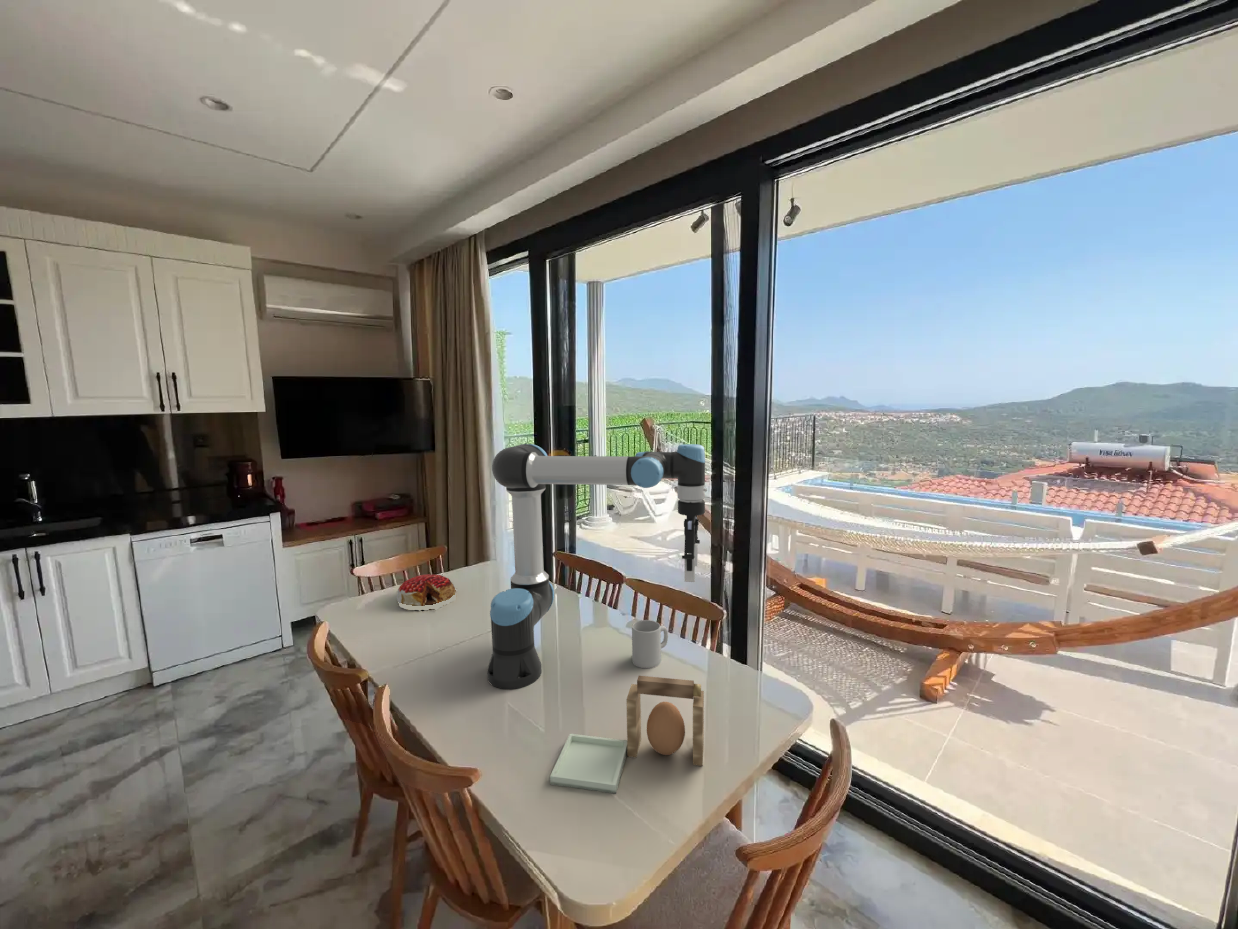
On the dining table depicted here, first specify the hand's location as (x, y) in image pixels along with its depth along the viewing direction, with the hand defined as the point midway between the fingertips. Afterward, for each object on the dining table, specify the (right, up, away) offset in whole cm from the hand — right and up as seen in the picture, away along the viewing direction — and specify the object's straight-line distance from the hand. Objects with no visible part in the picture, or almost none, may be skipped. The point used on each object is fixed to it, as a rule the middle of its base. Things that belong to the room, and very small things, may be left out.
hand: (691, 573), depth 144 cm
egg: (-10, -32, -33) cm, 47 cm away
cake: (-95, -23, +55) cm, 112 cm away
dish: (-26, -33, -37) cm, 56 cm away
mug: (-11, -27, +7) cm, 30 cm away
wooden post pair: (-10, -32, -33) cm, 47 cm away
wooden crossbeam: (-10, -18, -35) cm, 41 cm away
